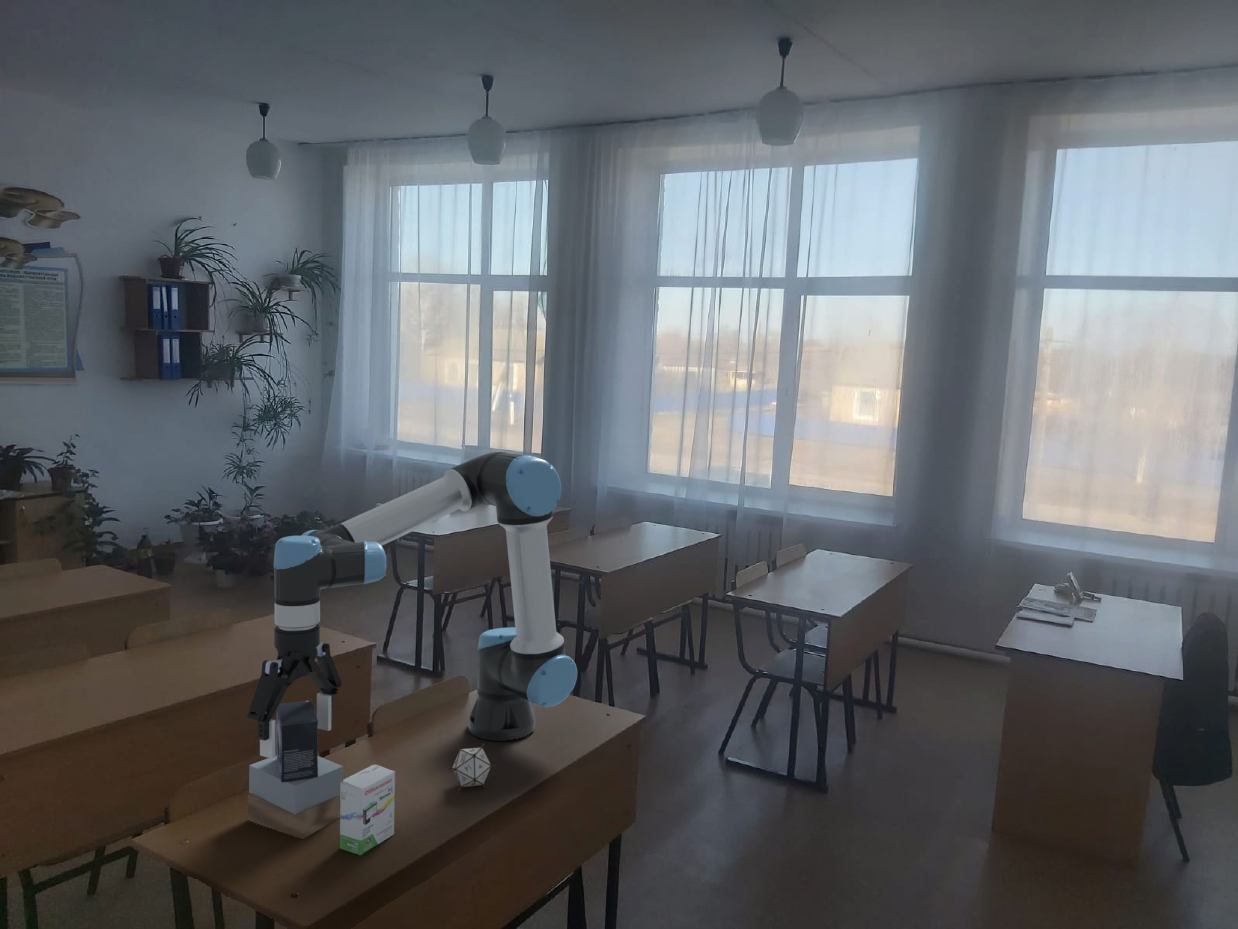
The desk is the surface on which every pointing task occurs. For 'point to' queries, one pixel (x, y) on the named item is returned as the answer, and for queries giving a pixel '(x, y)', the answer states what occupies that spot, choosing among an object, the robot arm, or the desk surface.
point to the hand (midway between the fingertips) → (296, 742)
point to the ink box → (367, 809)
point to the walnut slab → (293, 816)
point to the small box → (297, 740)
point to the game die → (471, 767)
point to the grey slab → (295, 785)
